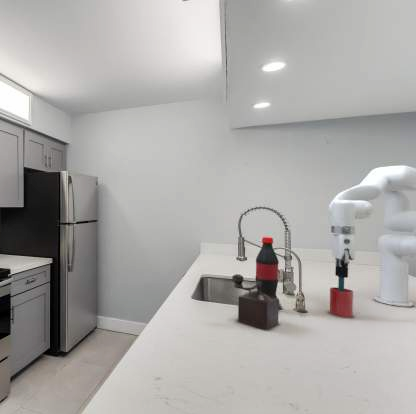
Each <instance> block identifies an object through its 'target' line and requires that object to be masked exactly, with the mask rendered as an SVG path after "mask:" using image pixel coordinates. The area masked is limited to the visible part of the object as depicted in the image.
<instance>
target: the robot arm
mask: <svg viewBox="0 0 416 414" xmlns="http://www.w3.org/2000/svg"><path fill="white" fill-rule="evenodd" d="M405 191H407V192H408V191H411V192H413V191H414V192H415V191H416V167H412V166H409V165H391V166H390V165H389V166H380V167H376V168H373V169H372V170H371V171H369V173H368V174H367V175H366V176H365V177H364V178H363V180H362V181H361V182H360V183H359V184H357V185H355V186H352V187H350V188H347V189H346V190H343V191H341V192H340V193H338V194H337V195H336V196H335V197H333V199H332V201H331V202H330V203H329V205H328V214H329V215H330V217H331V218H330V219H331V220H330V234H331V235H332V244H331V255H332V257H334V260H335V269H334V270H335V271H334V272H335V275H334V276H336V277H338V278H339V277H344V279H347V278H348V277H349V264H350V261H354V260H355V259H356V253H355V250H356V249H355V238H354V237H355V234H356V232H355V231H356V220H365V219H367V218H370V217H371V216H372V215H373V212H374V208H373V205H372V204H371V203H370V201H373V200H377V199H378V198H380V197H382V198H383V200H384V214H383V225H384V226H383V227H384V228H385V229H386V230H387V231H391V232H399V233H400V232H401V233H414V234H415V235H411V234H410V235H409V234H399V233H398V234H397V233H396V234H395V233H387V234H383V235H380V237H379V238H378V240H377V246H378V251H379V259H380V260H379V261H380V262H379V263H380V267H379V271H380V272H379V296H375V297H374V300H375V301H376V302H378V303H381V304H385V305H389V306H390V305H391V306H397V307H407V308H409V307H413V306H414V303H413V302H412V301H409V276H410V275H409V272H410V267H409V263H408V262H407V260H406V259H405V258H404V257H408V258H409V257H410V258H416V210H411V199H410V197H408V195H407V194H406V193H405Z"/></svg>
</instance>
